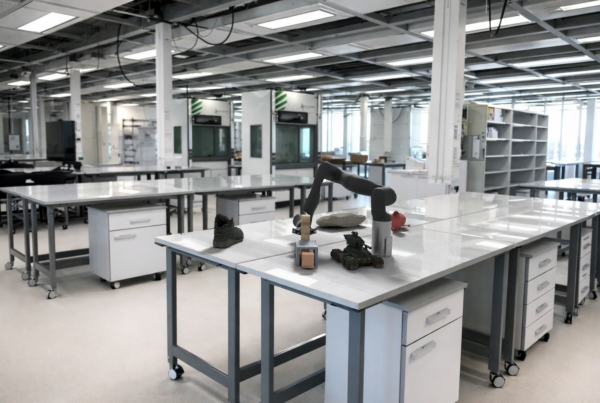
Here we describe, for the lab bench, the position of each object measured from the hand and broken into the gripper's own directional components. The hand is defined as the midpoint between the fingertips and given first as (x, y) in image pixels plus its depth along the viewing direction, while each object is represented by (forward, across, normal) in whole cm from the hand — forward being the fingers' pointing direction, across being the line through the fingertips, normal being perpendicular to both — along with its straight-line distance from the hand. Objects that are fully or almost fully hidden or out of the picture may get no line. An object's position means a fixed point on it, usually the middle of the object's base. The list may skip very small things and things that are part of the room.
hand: (305, 234), depth 231 cm
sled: (+13, 0, +9) cm, 16 cm away
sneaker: (-26, -39, +10) cm, 48 cm away
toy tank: (+14, +23, +11) cm, 29 cm away
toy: (-69, +62, +10) cm, 93 cm away
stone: (-76, +26, +10) cm, 80 cm away
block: (+24, 0, +8) cm, 25 cm away
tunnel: (+13, 0, +10) cm, 17 cm away
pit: (+3, 0, +10) cm, 10 cm away
